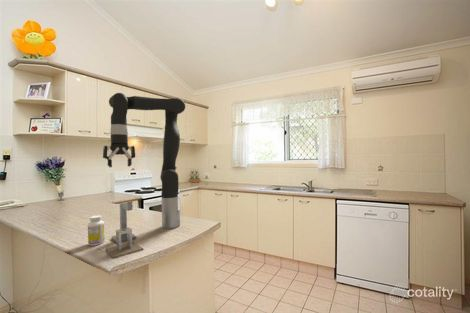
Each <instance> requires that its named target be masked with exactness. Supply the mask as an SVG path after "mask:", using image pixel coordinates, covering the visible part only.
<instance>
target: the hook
mask: <svg viewBox="0 0 470 313" xmlns="http://www.w3.org/2000/svg"><path fill="white" fill-rule="evenodd" d="M125 233H127V241H126V243H127V246H128V247H129V248H132V242H133V240H132V234H133V229H132V228H131V227H128V226H127V228H124V229H120V228H119V229H115V236H116V243H115V244H116V245H115V246H116V249H117V250H118V251H121V244H122V242H121V234H125Z"/></svg>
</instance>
